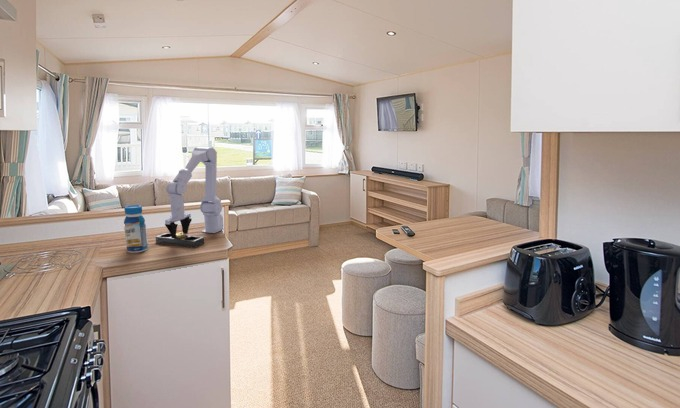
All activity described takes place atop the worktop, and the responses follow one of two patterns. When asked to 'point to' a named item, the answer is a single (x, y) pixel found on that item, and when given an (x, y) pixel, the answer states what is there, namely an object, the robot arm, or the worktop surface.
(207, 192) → the robot arm
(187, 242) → the cabinet frame
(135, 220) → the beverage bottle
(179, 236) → the wooden knob block
